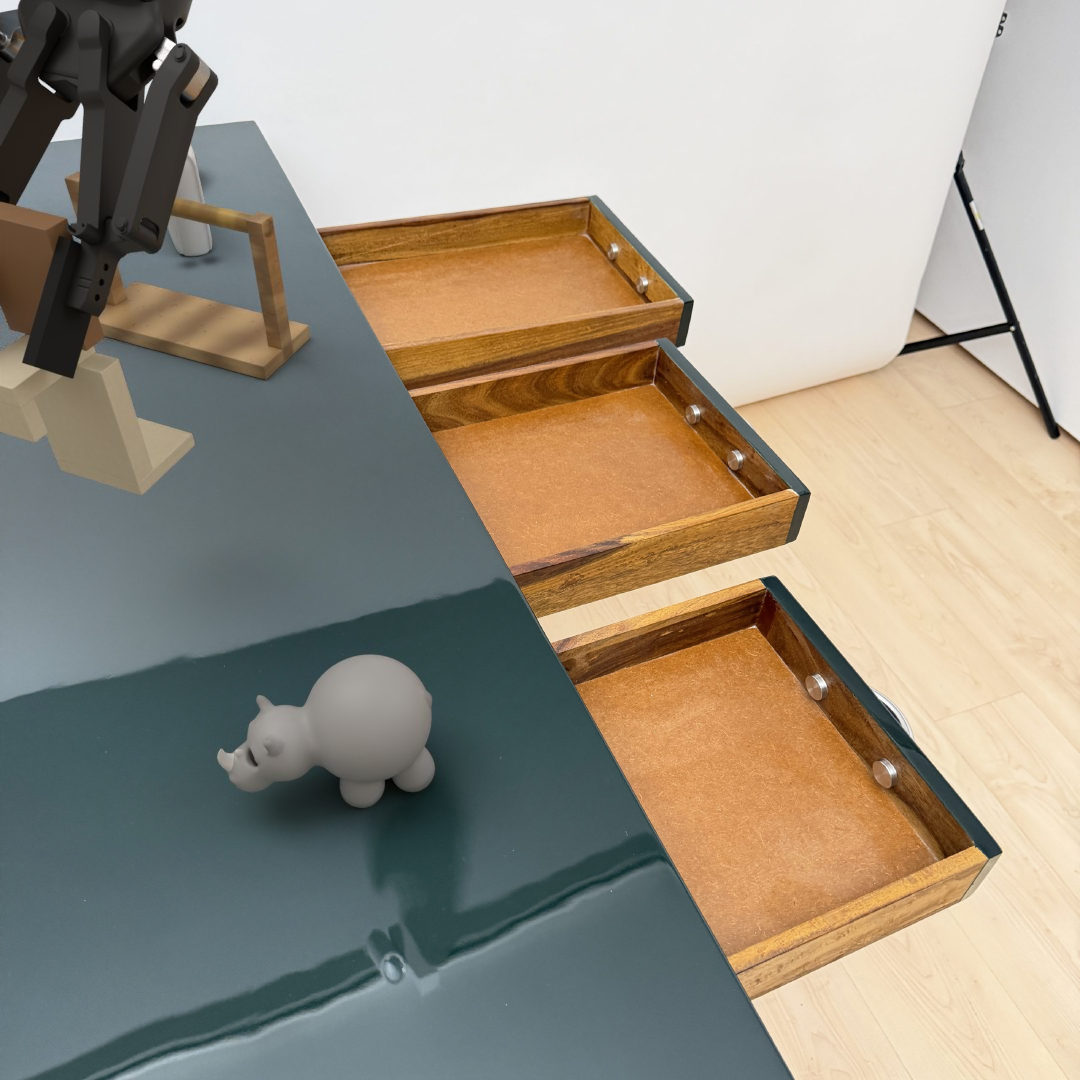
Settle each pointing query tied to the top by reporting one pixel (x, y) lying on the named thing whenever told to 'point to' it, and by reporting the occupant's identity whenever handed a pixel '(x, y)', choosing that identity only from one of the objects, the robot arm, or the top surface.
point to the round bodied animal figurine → (343, 733)
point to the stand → (209, 305)
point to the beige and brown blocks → (64, 403)
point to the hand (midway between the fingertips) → (2, 356)
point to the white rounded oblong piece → (185, 232)
